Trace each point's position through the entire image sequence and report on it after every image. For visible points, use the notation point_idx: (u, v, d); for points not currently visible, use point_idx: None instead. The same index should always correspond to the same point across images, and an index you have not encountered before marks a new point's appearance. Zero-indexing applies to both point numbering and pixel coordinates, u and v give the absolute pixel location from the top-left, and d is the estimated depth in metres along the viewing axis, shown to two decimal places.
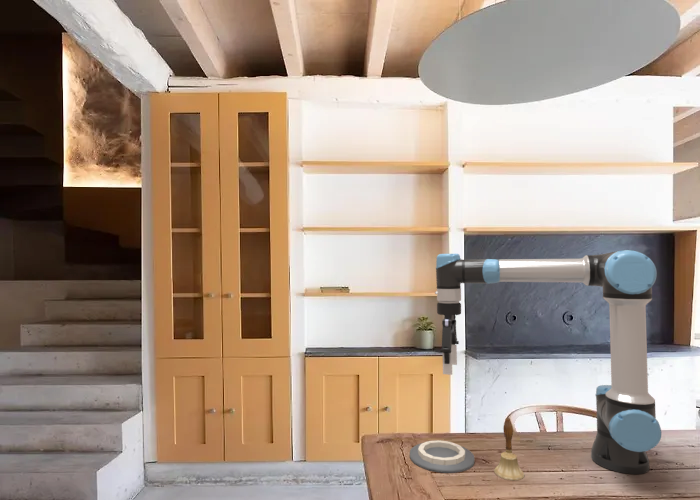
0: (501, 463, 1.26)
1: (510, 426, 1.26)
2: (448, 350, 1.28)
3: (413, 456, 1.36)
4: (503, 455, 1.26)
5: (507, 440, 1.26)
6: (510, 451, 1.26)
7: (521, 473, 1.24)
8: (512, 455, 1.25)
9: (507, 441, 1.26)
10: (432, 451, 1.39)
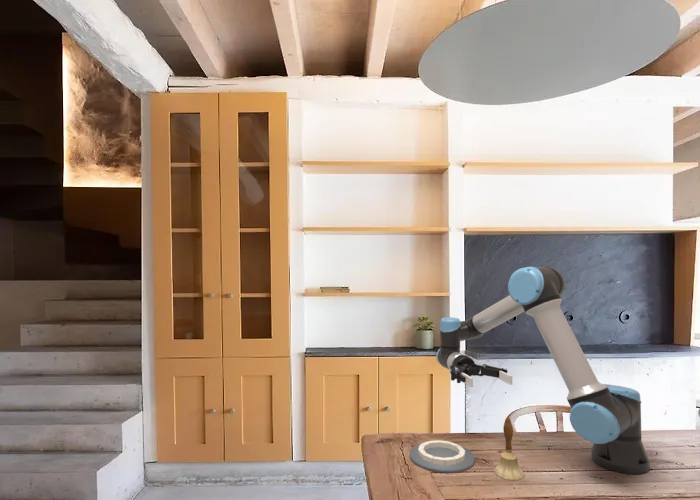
0: (501, 463, 1.26)
1: (510, 426, 1.26)
2: (451, 374, 1.42)
3: (413, 456, 1.36)
4: (503, 455, 1.26)
5: (507, 440, 1.26)
6: (510, 451, 1.26)
7: (521, 473, 1.24)
8: (512, 455, 1.25)
9: (507, 441, 1.26)
10: (432, 451, 1.39)
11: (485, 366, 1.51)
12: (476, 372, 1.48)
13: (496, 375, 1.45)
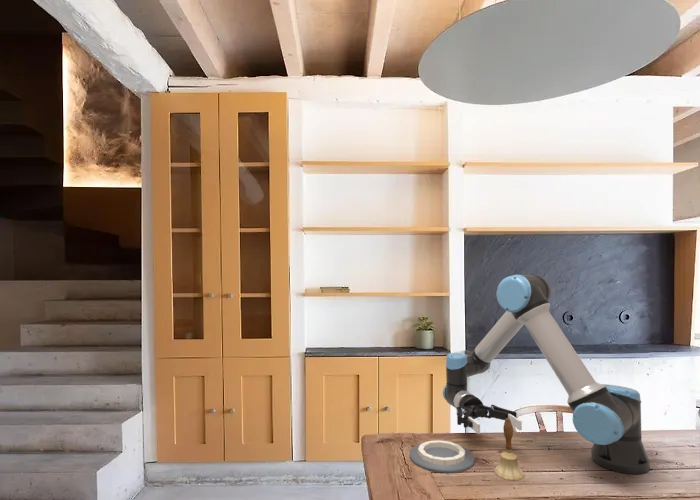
0: (501, 463, 1.26)
1: (510, 426, 1.26)
2: (457, 417, 1.36)
3: (413, 456, 1.36)
4: (503, 455, 1.26)
5: (507, 440, 1.26)
6: (510, 451, 1.26)
7: (521, 473, 1.24)
8: (512, 455, 1.25)
9: (507, 441, 1.26)
10: (432, 451, 1.39)
11: (493, 407, 1.46)
12: (484, 414, 1.42)
13: (505, 418, 1.40)
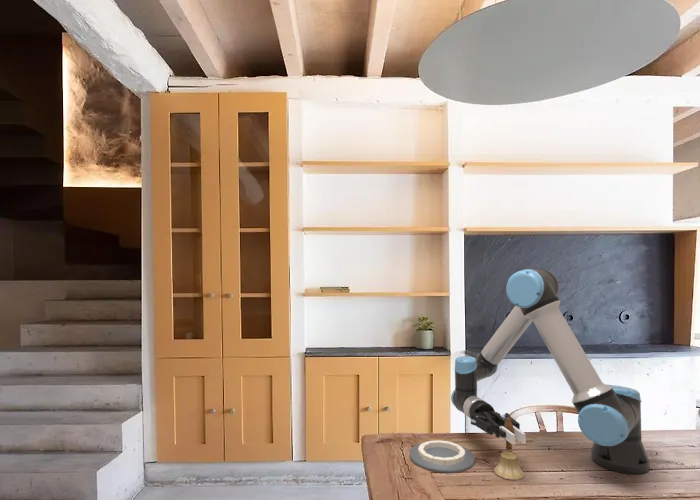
0: (501, 462, 1.26)
1: (511, 426, 1.26)
2: (489, 427, 1.28)
3: (413, 456, 1.36)
4: (503, 454, 1.26)
5: None
6: (510, 451, 1.26)
7: (521, 473, 1.24)
8: (512, 455, 1.25)
9: (507, 441, 1.26)
10: (432, 451, 1.39)
11: (505, 415, 1.37)
12: (496, 421, 1.36)
13: None
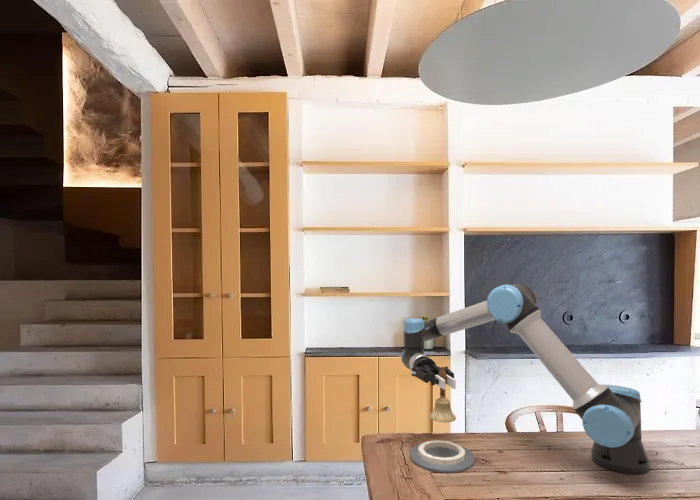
0: (435, 408, 1.37)
1: (444, 374, 1.36)
2: (425, 376, 1.39)
3: (413, 456, 1.36)
4: (437, 400, 1.37)
5: None
6: (443, 397, 1.37)
7: (453, 416, 1.35)
8: (445, 400, 1.36)
9: None
10: (432, 451, 1.39)
11: None
12: (435, 373, 1.46)
13: None
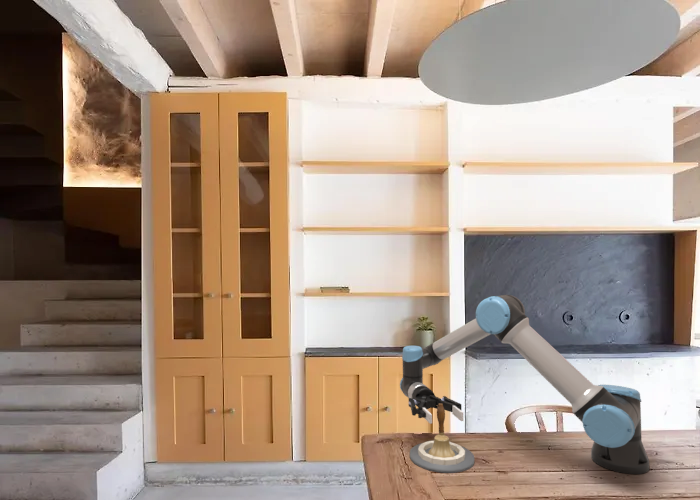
0: (434, 445, 1.36)
1: (442, 410, 1.36)
2: (412, 408, 1.39)
3: (413, 456, 1.36)
4: (436, 437, 1.37)
5: (439, 423, 1.37)
6: (442, 433, 1.36)
7: (452, 453, 1.35)
8: (444, 437, 1.36)
9: (440, 424, 1.37)
10: None
11: (444, 398, 1.49)
12: (434, 405, 1.46)
13: (450, 409, 1.42)
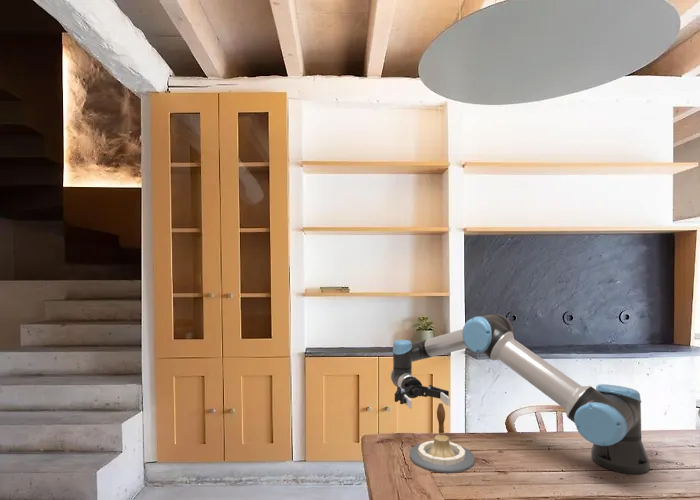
0: (434, 445, 1.36)
1: (442, 410, 1.36)
2: None
3: (413, 456, 1.36)
4: (436, 437, 1.37)
5: (439, 423, 1.37)
6: (442, 433, 1.36)
7: (452, 454, 1.35)
8: (444, 437, 1.36)
9: (440, 424, 1.37)
10: None
11: (430, 387, 1.62)
12: (420, 393, 1.59)
13: (438, 396, 1.56)
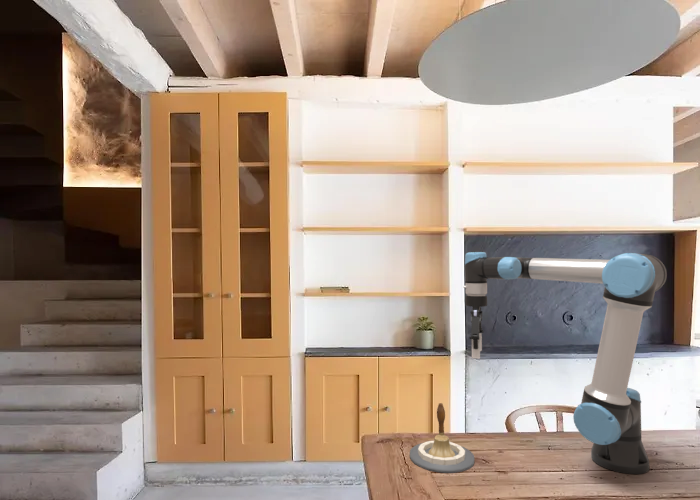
0: (434, 445, 1.36)
1: (442, 410, 1.36)
2: (477, 337, 1.46)
3: (413, 456, 1.36)
4: (436, 437, 1.37)
5: (439, 423, 1.37)
6: (442, 433, 1.36)
7: (452, 454, 1.35)
8: (444, 437, 1.36)
9: (440, 424, 1.37)
10: None
11: None
12: None
13: None
